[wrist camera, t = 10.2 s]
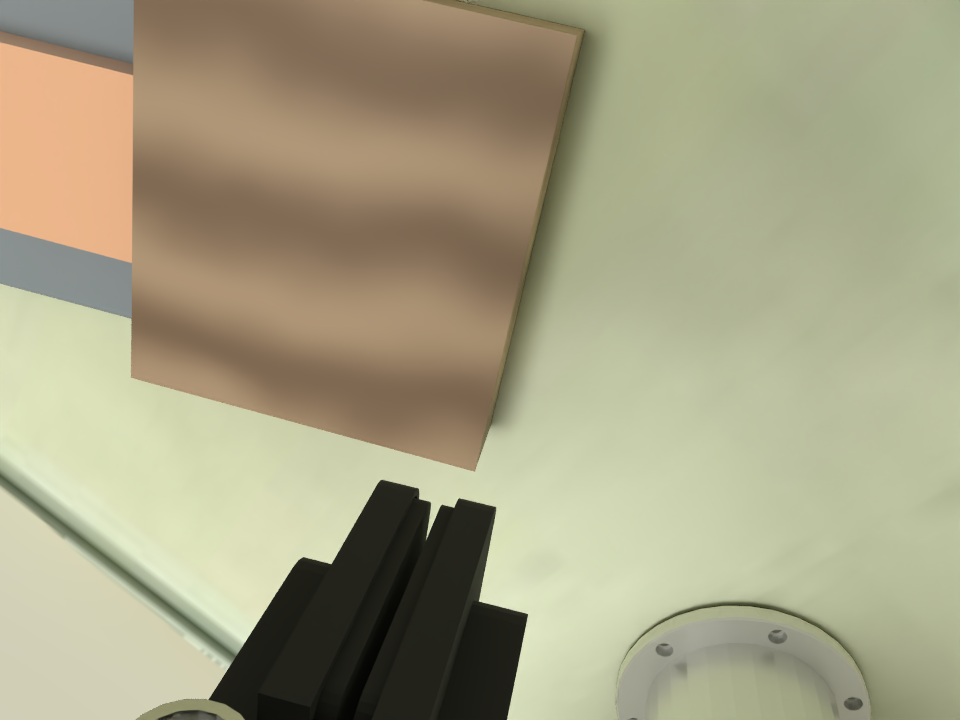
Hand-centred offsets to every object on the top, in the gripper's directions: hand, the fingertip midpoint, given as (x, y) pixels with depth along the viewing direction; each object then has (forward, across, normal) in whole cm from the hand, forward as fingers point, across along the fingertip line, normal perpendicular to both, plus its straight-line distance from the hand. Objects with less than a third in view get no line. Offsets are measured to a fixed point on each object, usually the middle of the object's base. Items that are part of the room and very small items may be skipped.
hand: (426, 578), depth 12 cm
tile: (+24, +22, +2) cm, 32 cm away
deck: (+25, +9, +2) cm, 26 cm away
